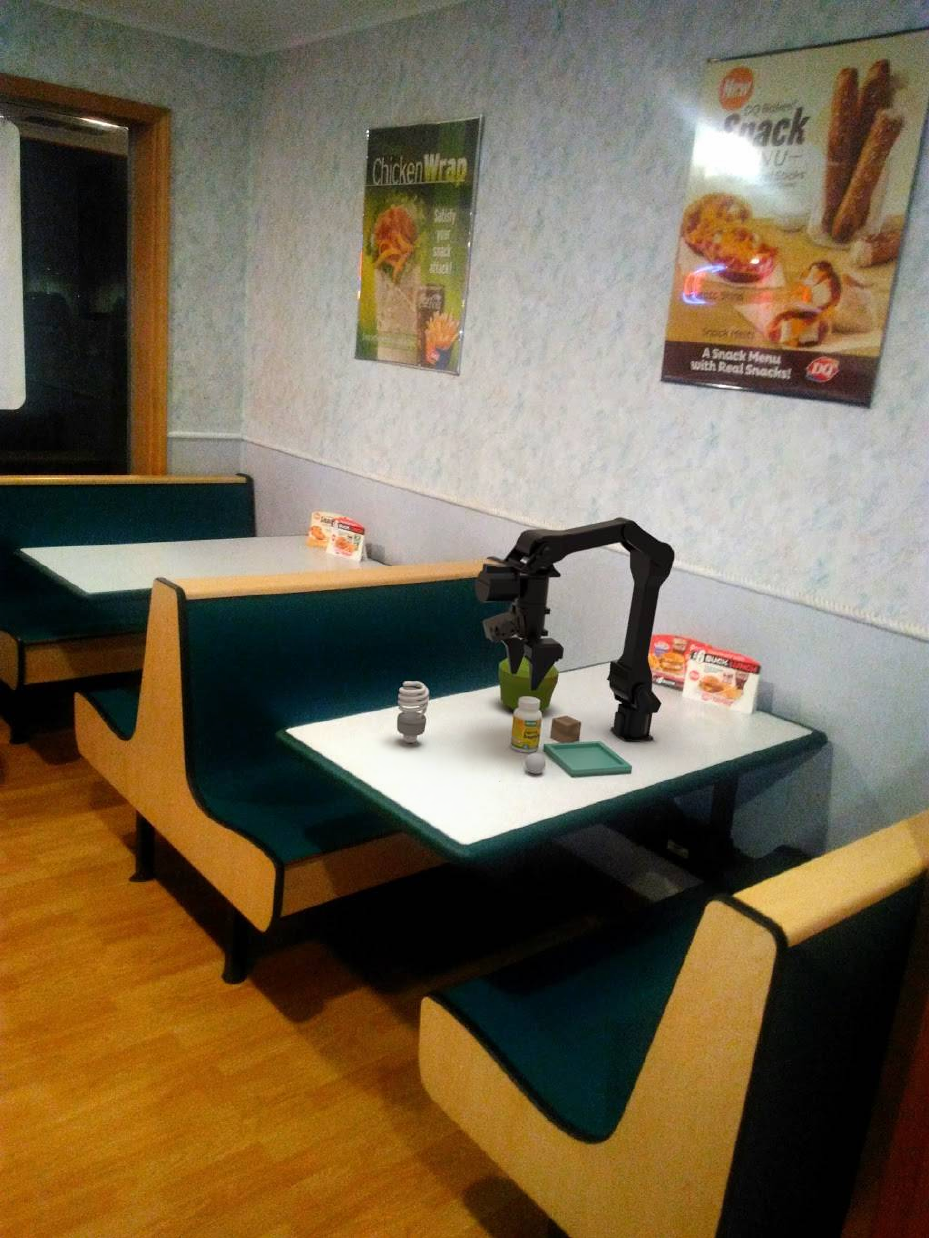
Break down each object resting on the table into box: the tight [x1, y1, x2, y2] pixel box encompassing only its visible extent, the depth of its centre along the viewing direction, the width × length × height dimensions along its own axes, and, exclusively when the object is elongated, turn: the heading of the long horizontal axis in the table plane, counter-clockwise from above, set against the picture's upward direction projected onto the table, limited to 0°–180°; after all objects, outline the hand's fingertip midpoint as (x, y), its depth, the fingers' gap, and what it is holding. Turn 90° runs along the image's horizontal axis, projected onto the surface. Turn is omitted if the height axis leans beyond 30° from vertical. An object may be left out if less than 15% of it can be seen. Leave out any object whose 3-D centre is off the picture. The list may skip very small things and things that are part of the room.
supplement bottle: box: [510, 696, 543, 754], centre depth 181 cm, size 5×5×10 cm
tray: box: [542, 740, 633, 778], centre depth 178 cm, size 12×12×1 cm
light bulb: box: [396, 680, 430, 744], centre depth 178 cm, size 6×6×12 cm
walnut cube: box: [549, 714, 582, 743], centre depth 188 cm, size 4×4×4 cm
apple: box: [497, 657, 560, 712], centre depth 202 cm, size 12×12×11 cm
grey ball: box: [524, 752, 546, 774], centre depth 171 cm, size 4×4×4 cm
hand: (523, 681), depth 180 cm, fingers open, 9 cm apart
